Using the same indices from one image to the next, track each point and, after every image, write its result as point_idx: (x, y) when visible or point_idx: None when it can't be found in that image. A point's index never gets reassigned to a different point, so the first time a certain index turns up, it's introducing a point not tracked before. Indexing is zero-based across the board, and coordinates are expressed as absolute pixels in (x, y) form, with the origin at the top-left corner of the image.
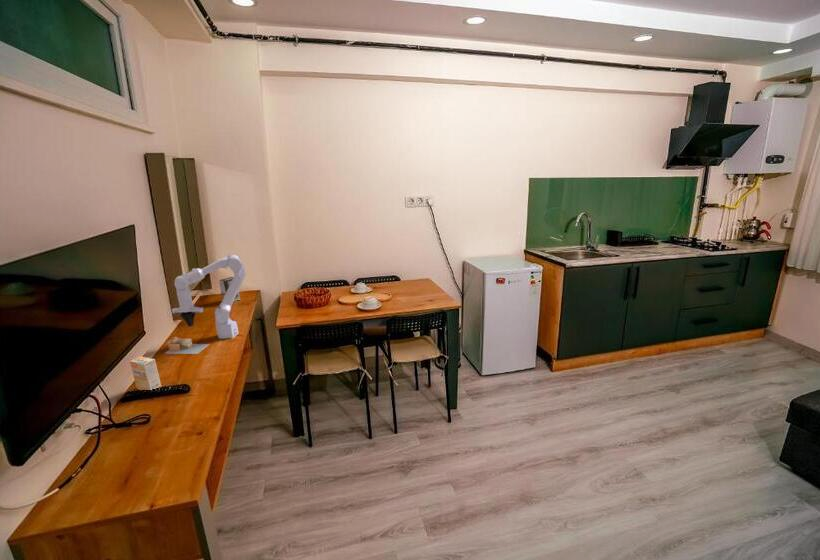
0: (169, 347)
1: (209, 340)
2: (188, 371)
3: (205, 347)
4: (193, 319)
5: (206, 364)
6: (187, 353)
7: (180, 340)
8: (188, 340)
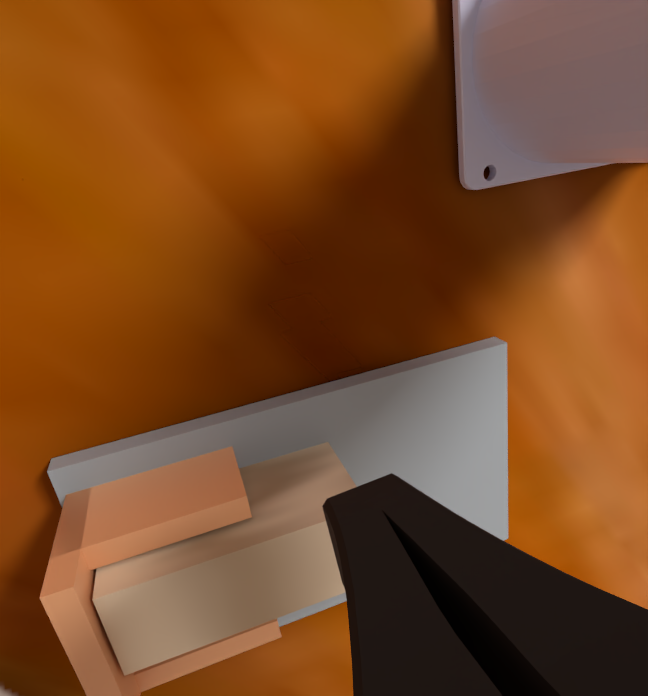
0: None
1: (391, 211)
2: None
3: (504, 422)
4: (528, 568)
5: (636, 586)
6: None
7: (255, 607)
8: None
